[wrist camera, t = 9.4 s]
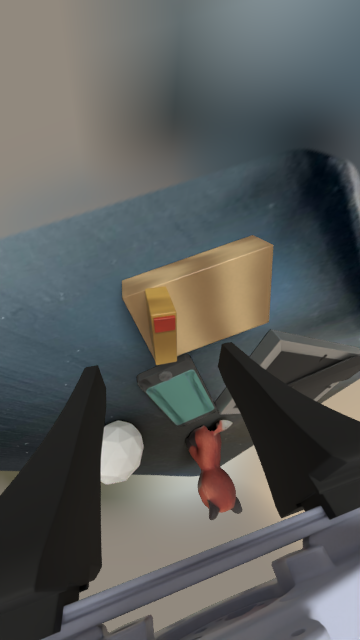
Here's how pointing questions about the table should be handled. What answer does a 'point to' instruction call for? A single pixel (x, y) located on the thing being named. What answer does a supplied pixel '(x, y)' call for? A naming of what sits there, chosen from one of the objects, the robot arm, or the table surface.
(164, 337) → the thumb turn
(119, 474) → the ornament
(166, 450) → the table surface
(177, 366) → the smartphone
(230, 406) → the picture frame
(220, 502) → the stuffed fox
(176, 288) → the brown flat block
